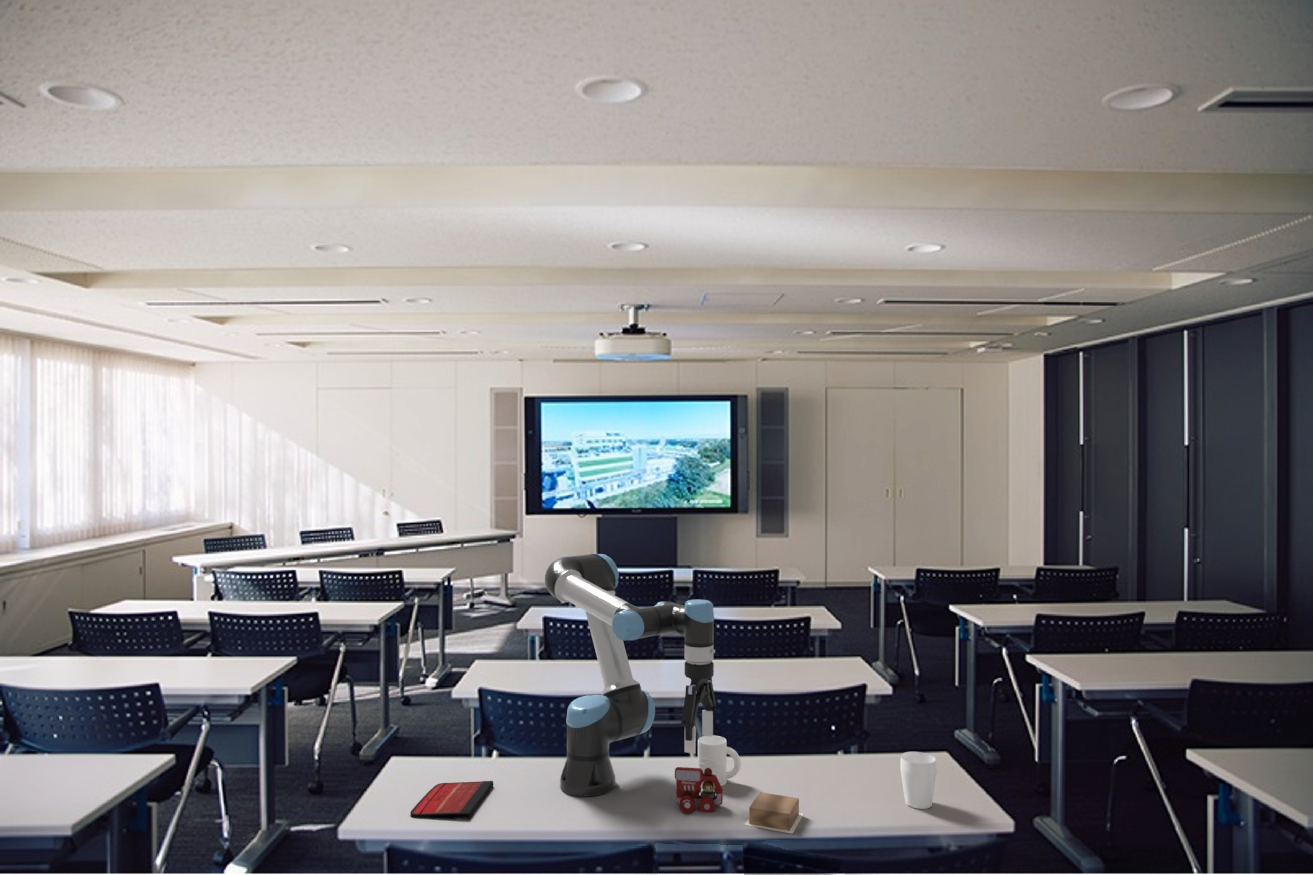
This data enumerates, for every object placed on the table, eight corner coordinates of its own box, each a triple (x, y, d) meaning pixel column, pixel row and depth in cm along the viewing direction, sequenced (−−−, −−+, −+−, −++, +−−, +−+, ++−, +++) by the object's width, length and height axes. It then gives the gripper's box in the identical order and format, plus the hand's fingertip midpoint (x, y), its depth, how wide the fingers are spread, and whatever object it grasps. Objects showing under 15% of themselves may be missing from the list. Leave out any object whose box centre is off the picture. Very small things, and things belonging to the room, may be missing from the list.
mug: (740, 791, 224) (740, 746, 224) (696, 788, 226) (696, 744, 226) (741, 779, 232) (741, 736, 232) (699, 777, 234) (699, 734, 234)
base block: (749, 823, 203) (749, 807, 203) (760, 807, 212) (760, 791, 212) (789, 830, 199) (789, 814, 199) (798, 814, 208) (798, 798, 208)
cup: (936, 799, 219) (936, 753, 219) (936, 813, 211) (936, 765, 211) (901, 794, 222) (901, 749, 222) (899, 808, 214) (899, 761, 214)
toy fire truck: (722, 815, 209) (722, 774, 209) (673, 813, 211) (673, 771, 211) (723, 804, 216) (723, 764, 216) (675, 801, 217) (675, 761, 218)
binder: (493, 779, 227) (469, 812, 206) (493, 788, 227) (469, 822, 206) (436, 780, 229) (407, 812, 208) (437, 788, 229) (407, 822, 208)
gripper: (696, 674, 201) (696, 762, 201) (727, 651, 224) (727, 730, 224) (667, 671, 204) (667, 757, 204) (701, 649, 227) (701, 727, 227)
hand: (699, 743), depth 214 cm, fingers open, 13 cm apart
